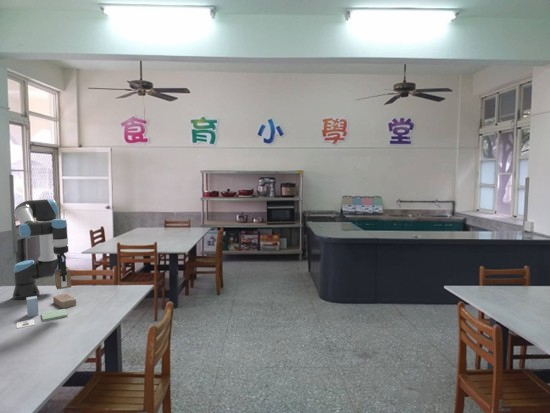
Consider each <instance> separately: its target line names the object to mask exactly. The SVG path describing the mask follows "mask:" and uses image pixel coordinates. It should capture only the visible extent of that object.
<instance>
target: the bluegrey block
mask: <svg viewBox="0 0 550 413" xmlns="http://www.w3.org/2000/svg"><path fill="white" fill-rule="evenodd" d="M25 300H26V310H27V311H26V312H27V317H28V318H29V317H35V316H39V304H38V296H33V297H27V298H26V299H25Z"/></svg>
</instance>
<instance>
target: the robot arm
mask: <svg viewBox="0 0 550 413" xmlns="http://www.w3.org/2000/svg"><path fill="white" fill-rule="evenodd" d="M13 213H14V217H15V218H16V219H17V220H18V221H19V225H18V233H19V234H18V235H19V236H20V237H22V238H24V237H25V238H29V237H39V252H40V253H39V257H38V258H37V261H35V260H34V259H28V260H23V261H20V262H18V263H15V264H14V266H13V273H14V276H13V277H14V289H13V293H12V299H13V300H16V301H17V300H19V301H21V300H26V298H27V297H33V296H37V297H38V296H40V293H41V292H40V289H39V287H38V285H37V282H36V280H40V279H46V278H54V277H55V270H57V269H61V275H60V276H61V287H66V286H67V278H66V275H67V271H66V268H67V260H66V259H67V257H66V255H65V254H67V253H68V252H69V238H68V223H67V219H66V218H57V217H59V216H60V215H59V213H60V212H59V208H58V203H57V201H56V200H55V199H49V198H48V199H34V200H31V199H30V200H26V201H25V200H24V201H22V202H21V203H19V204H18V205H17V206H16V207H15V209H14V212H13Z"/></svg>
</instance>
